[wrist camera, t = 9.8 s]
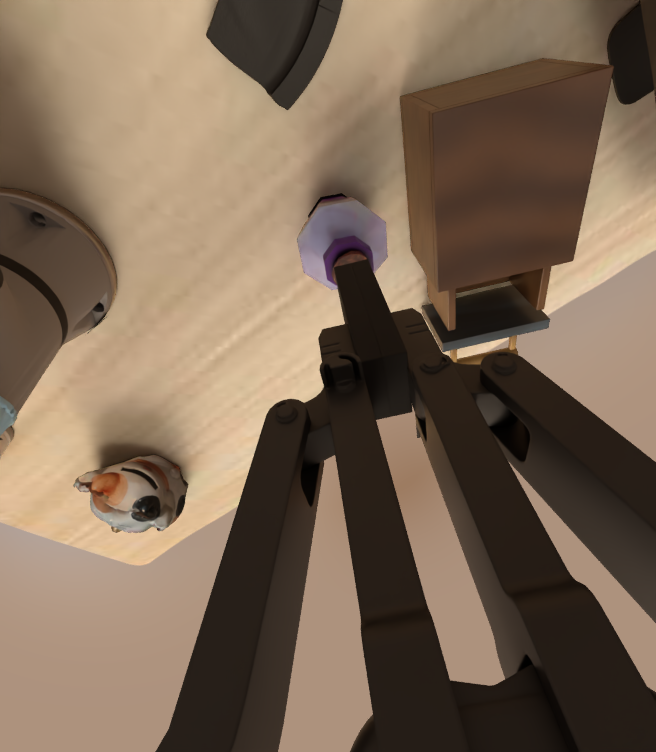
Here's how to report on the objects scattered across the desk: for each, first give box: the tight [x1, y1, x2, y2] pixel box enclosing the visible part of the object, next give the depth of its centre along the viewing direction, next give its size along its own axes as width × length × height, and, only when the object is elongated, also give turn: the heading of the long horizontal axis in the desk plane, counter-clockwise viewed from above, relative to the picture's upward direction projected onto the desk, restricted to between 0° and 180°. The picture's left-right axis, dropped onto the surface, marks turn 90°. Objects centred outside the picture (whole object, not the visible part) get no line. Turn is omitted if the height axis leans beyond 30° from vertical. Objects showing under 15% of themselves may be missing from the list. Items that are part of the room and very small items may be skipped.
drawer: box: [422, 266, 551, 364], centre depth 44 cm, size 20×11×8 cm, turn 12°
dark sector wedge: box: [206, 0, 343, 110], centre depth 30 cm, size 8×14×2 cm, turn 142°
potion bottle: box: [297, 193, 388, 290], centre depth 37 cm, size 9×9×12 cm
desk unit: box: [400, 58, 614, 293], centre depth 36 cm, size 15×13×10 cm
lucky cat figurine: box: [73, 455, 188, 533], centre depth 59 cm, size 15×12×14 cm
